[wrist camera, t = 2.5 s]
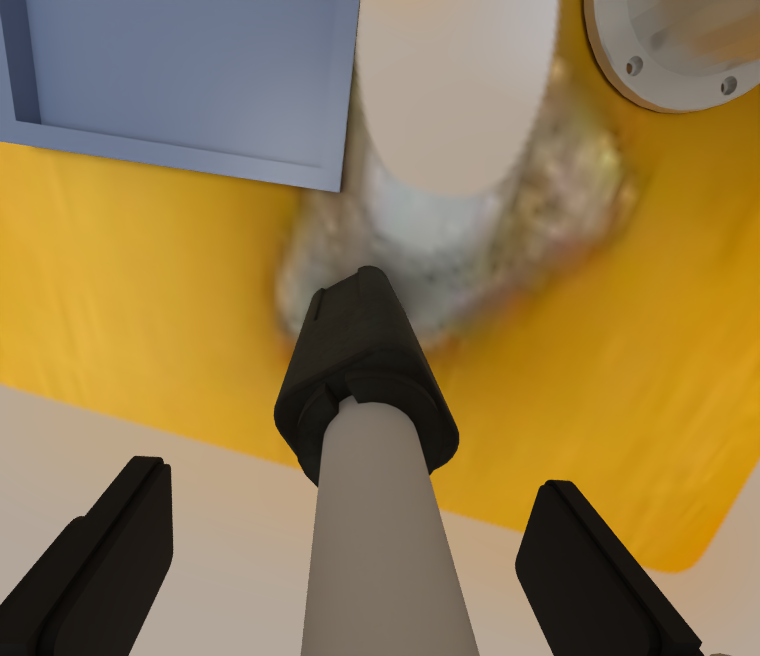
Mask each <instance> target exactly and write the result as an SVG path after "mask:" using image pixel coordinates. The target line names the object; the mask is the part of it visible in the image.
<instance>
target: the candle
mask: <svg viewBox="0 0 760 656" xmlns="http://www.w3.org/2000/svg"><path fill="white" fill-rule="evenodd" d="M274 420H275V425H276V427H277V429H278V431H279V433H280V434H281V435H282V437H283V438H284V439H285V441H286V442H287V444H288V445H289V446H290V448H291V449H292V450H293V452H294V453H295V454H296V456H297V458H298V462H299V464H300V465H301V467H302V469H303V471H304V473H305V475H306V476H307V477H308V478H309V479H310V480H311V481H312V482H313V483H314V484H315V485H316V486H317V487H318V495H317V505H316V514H315V524H314V533H313V543H312V553H311V562H310V563H311V564H310V573H309V581H308V591H307V601H306V610H305V620H304V629H303V639H302V649H301V656H480V655H479V652H478V648H477V644H476V641H475V637H474V634H473V630H472V627H471V623H470V619H469V616H468V612H467V609H466V605H465V602H464V598H463V595H462V591H461V587H460V584H459V581H458V577H457V573H456V569H455V566H454V562H453V559H452V555H451V552H450V549H449V545H448V541H447V537H446V534H445V530H444V527H443V523H442V520H441V516H440V512H439V509H438V505H437V502H436V498H435V495H434V491H433V487H432V484H431V480H430V477H429V476H430V475H431V473H432V472H433V470H435V469H437V468H439V467H441V466H443V465H444V464H446V463H447V462H448V461H449V460H450V459H451V458H452V457H453V456H454V454H455V453H456V451H457V449H458V445H459V432H458V429H457V426H456V424H455V421H454V419H453V417H452V415H451V413H450V410H449V408H448V406H447V404H446V402H445V399H444V397H443V395H442V393H441V391H440V388H439V386H438V384H437V382H436V380H435V377H434V375H433V373H432V371H431V369H430V367H429V364H428V362H427V360H426V358H425V356H424V353H423V351H422V349H421V347H420V345H419V342H418V340H417V338H416V336H415V334H414V331H413V329H412V327H411V325H410V323H409V320H408V318H407V316H406V314H405V312H404V310H403V308H402V306H401V304H400V302H399V300H398V298H397V296H396V295H395V293H394V291H393V289H392V287H391V285H390V283H389V281H388V279H387V277H386V275H385V274H384V273H383V272H382V271H381V270H380V269H379V268H376V267H373V266H364V267H361V268H359V269H358V272H357V273H356V274H354V275H352V276H350V277H348V278H346V279H345V280H343V281H341V282H339V283H337V284H335V285H333V286H331V287H330V288H328V289H326V290H324V289H323V288H321V289H320V290H318V291H317V292H316V293H315V294H314V295H313V298H312V300H311V303H310V306H309V309H308V311H307V314H306V317H305V320H304V323H303V326H302V329H301V332H300V335H299V338H298V341H297V343H296V346H295V349H294V352H293V355H292V358H291V361H290V364H289V367H288V370H287V372H286V375H285V378H284V381H283V384H282V387H281V390H280V393H279V396H278V399H277V402H276V404H275V408H274Z"/></svg>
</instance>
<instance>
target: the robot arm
mask: <svg viewBox="0 0 760 656" xmlns="http://www.w3.org/2000/svg"><path fill="white" fill-rule="evenodd" d="M584 14H585V20H586V26H587V32H588V38H589V41H590V44H591V46H592V49H593V52H594V55H595V58H596V60H597V62H598V64H599V66H600V67H601V69H602V71H603V72H604V74H605V76H606V77H607V79H608V80H609V81H610V82H611V84H612V85H613V86H614V87H615V88H616V89H617V90H618V91H619V92H620V93H621V94H622V95H623V96H625V97H626V98H628V99H629V100H631V101H633V102H634V103H636V104H637V105H639V106H641V107H644V108H647V109H650V110H653V111H656V112H663V113H676V114H680V113H686V112H693V111H700V110H703V109H707V108H711V107H714V106H718V105H722V104H725V103H727V102H729V101H731V100H733V99H735V98H737V97H739V96H742V95H744V94H745V93H747V92H748V91H750V90H751V89H753V88H754V87H756V86H757V85H759V84H760V0H584ZM626 69H627V70H626ZM172 525H173V523H172V487H171V467H170V465H169V464H164V461H163V459H162V458H161V457H145V456H134V457H133V458H132V459H131V460H130V461H129V462H128V463H127V465H126V466H125V467H124V468H123V470H122V471H121V472H120V473H119V475H118V476H117V477H116V478H115V479H114V481H113V482H112V483H111V484H110V486H109V487H108V488H107V489H106V491H105V492H104V493H103V494H102V496H101V497H100V498H99V499H98V501H97V502H96V503H95V504H94V505H93V507H92V508H91V509H90V510H89V512H88V513H87V514H86V515H85V516H79V517H77V518H75V519H73V520H72V521H71V522H70V524H68V525H67V526H66V527H65V529H64V530H63V531H62V532H61V533H60V535H59V536H58V537H57V538H56V539H55V540H54V542H53V543H52V544H51V545H50V546H49V548H48V549H47V550H46V551H45V552H44V554H43V555H42V556H41V557H40V558H39V560H38V561H37V562H36V563H35V564H34V565H33V567H32V568H31V569H30V570H29V571H28V573H27V574H26V575H25V576H24V577H23V579H22V580H21V581H20V582H19V583H18V585H17V586H16V587H15V588H14V589H13V591H12V592H11V593H10V594H9V595H8V596H7V598H6V599H5V600H4V601H3V602H2V604H1V605H0V656H128V655H129V653H130V651H131V649H132V647H133V644H134V642H135V640H136V638H137V636H138V634H139V632H140V630H141V627H142V626H143V623H144V621H145V619H146V617H147V615H148V612H149V610H150V608H151V606H152V604H153V602H154V600H155V597H156V595H157V593H158V591H159V589H160V587H161V585H162V583H163V580H164V578H165V576H166V574H167V572H168V570H169V567H170V565H171V561H172V557H173V526H172ZM515 569H516V574H517V577H518V579H519V581H520V583H521V586H522V588H523V590H524V592H525V594H526V596H527V598H528V601H529V603H530V605H531V607H532V609H533V612H534V614H535V616H536V618H537V620H538V622H539V625H540V626H541V629H542V631H543V633H544V635H545V638H546V640H547V642H548V644H549V646H550V648H551V651H552V653H553V655H554V656H704V654H703V653H702V652H701V651H700V649H699V648H700V646H701V644H702V642H701V640H700V639H699V638H698V637H697V635H696V634H695V633H694V632H693V630H692V629H691V628H690V627H689V625H688V624H687V623H686V622H685V621H684V619H683V618H682V617H681V615H680V614H679V613H678V612H677V611H676V610H675V608H674V607H673V606H672V604H671V603H670V602H669V601H668V599H667V598H666V597H665V596H664V594H663V593H662V592H661V591H660V590H659V588H658V587H657V586H656V585H655V583H654V582H653V581H652V580H651V578H650V577H649V576H648V575H647V574H646V572H645V571H644V570H643V568H642V567H641V566H640V565H639V564H638V562H637V561H636V560H635V559H634V557H633V556H632V555H631V554H630V552H629V551H628V550H627V549H626V547H625V546H624V545H623V544H622V543H621V541H620V540H619V539H618V538H617V536H616V535H615V534H614V533H613V531H612V530H611V529H610V528H609V526H608V525H607V524H606V523H605V521H604V520H603V519H602V518H601V517H600V515H599V514H598V513H597V512H596V510H595V509H594V508H593V507H592V505H591V504H590V503H589V502H588V500H587V499H586V498H585V497H584V496H583V494H582V493H581V492H580V491H579V489H578V488H577V487H576V486H575V485H574V484H573V483H572V482H570V481H563V480H547V481H546V482H545V484H544V485H542V486H540V488H539V490H538V493H537V496H536V499H535V502H534V505H533V508H532V512H531V515H530V518H529V521H528V524H527V527H526V530H525V533H524V536H523V539H522V542H521V545H520V548H519V552H518V554H517V558H516V562H515ZM710 656H730V655H725V654H721V653H719V654H711V655H710Z"/></svg>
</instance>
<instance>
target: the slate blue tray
mask: <svg viewBox="0 0 760 656" xmlns="http://www.w3.org/2000/svg"><path fill="white" fill-rule="evenodd" d="M359 7H360V0H0V142H7V143H14V144H20V145H27V146H34V147H40V148H47V149H53V150H60V151H67V152H73V153H80V154H87V155H93V156H100V157H106V158H113V159H120V160H126V161H133V162H140V163H146V164H153V165H160V166H166V167H173V168H179V169H186V170H193V171H199V172H206V173H213V174H219V175H226V176H232V177H239V178H246V179H252V180H259V181H266V182H272V183H279V184H285V185H292V186H299V187H305V188H312V189H319V190H325V191H332V192H338V193H340V190H341V180H342V170H343V161H344V151H345V142H346V132H347V122H348V113H349V103H350V94H351V84H352V74H353V65H354V55H355V46H356V36H357V26H358V17H359Z"/></svg>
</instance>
